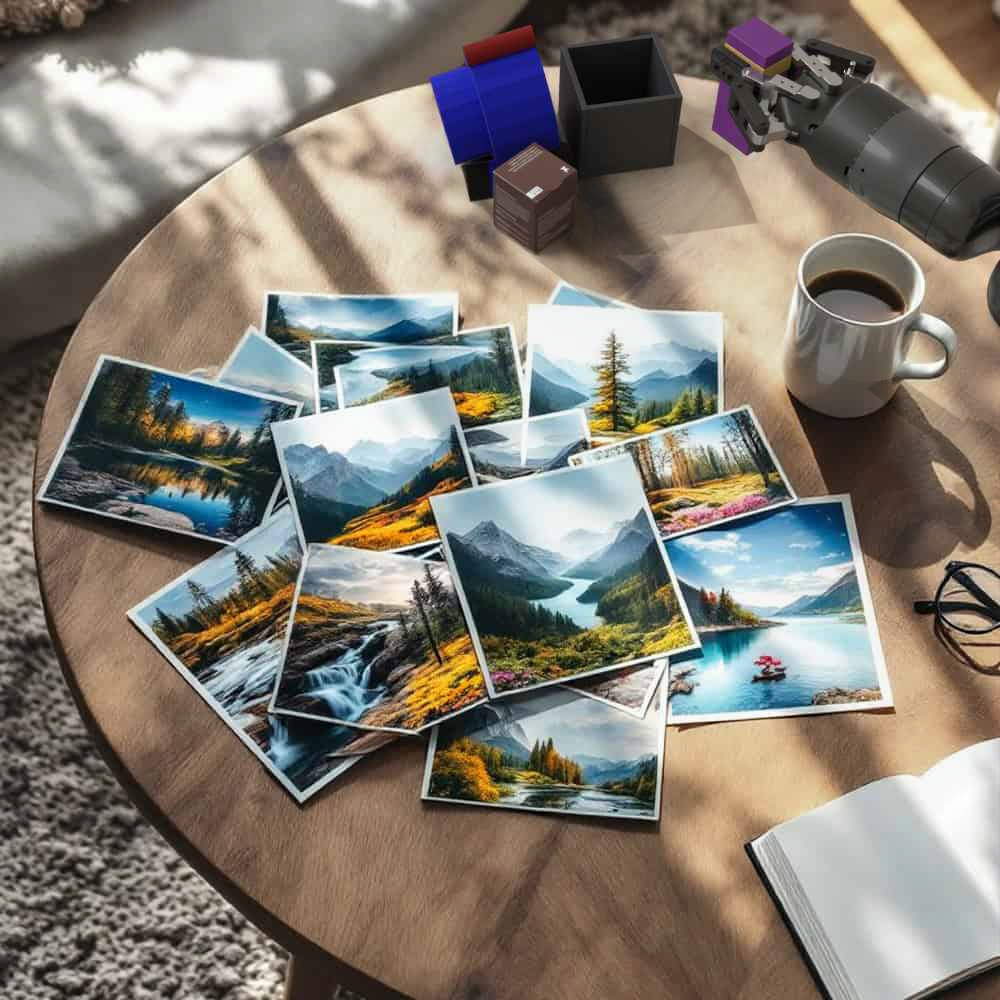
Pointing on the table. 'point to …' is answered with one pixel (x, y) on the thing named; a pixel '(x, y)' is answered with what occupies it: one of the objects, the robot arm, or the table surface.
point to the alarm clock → (495, 106)
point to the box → (534, 197)
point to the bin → (618, 105)
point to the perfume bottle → (763, 54)
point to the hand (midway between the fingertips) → (731, 46)
